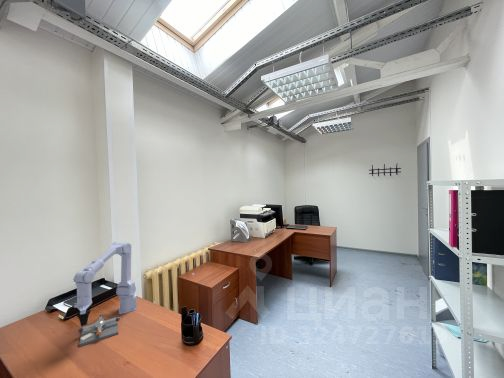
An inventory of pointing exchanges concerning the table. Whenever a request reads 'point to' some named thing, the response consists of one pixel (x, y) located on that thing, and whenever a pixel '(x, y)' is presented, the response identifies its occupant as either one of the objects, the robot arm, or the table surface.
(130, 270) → the robot arm
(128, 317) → the table surface
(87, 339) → the stand plate
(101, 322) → the silver metal piece
